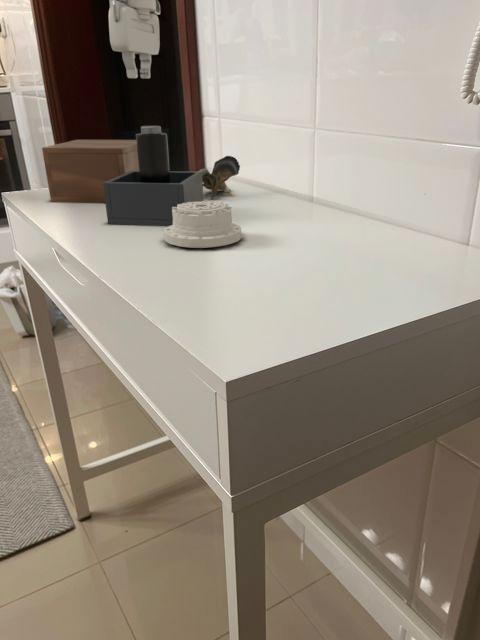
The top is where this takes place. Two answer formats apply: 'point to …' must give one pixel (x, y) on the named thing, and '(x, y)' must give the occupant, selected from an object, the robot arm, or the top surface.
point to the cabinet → (87, 167)
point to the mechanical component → (202, 225)
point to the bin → (149, 197)
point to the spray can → (153, 155)
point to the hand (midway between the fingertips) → (139, 78)
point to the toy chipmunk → (220, 175)
